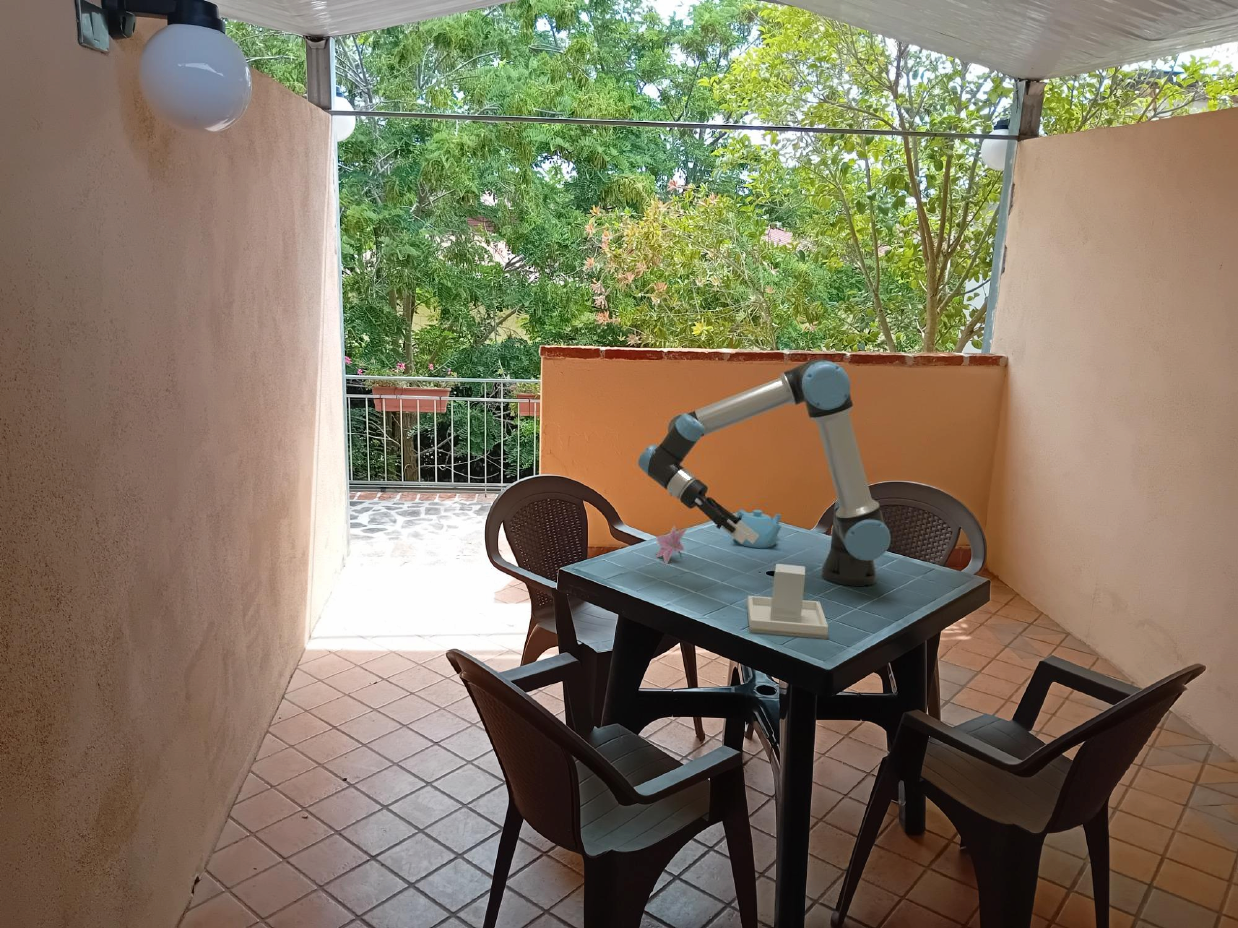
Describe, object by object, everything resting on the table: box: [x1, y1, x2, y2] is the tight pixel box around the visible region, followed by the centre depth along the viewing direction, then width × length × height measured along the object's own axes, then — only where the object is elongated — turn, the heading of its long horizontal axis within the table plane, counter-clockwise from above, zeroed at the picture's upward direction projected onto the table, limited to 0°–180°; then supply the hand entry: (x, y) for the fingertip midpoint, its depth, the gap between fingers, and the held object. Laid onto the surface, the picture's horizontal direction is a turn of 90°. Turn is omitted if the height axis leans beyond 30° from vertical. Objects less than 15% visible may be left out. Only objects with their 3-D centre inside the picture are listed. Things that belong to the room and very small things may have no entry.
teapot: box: [734, 509, 782, 549], centre depth 299 cm, size 15×15×11 cm
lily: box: [655, 525, 688, 565], centre depth 277 cm, size 12×12×10 cm
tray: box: [746, 595, 829, 640], centre depth 230 cm, size 18×18×3 cm
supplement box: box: [770, 563, 806, 623], centre depth 229 cm, size 7×7×13 cm
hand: (750, 539), depth 242 cm, fingers open, 13 cm apart
